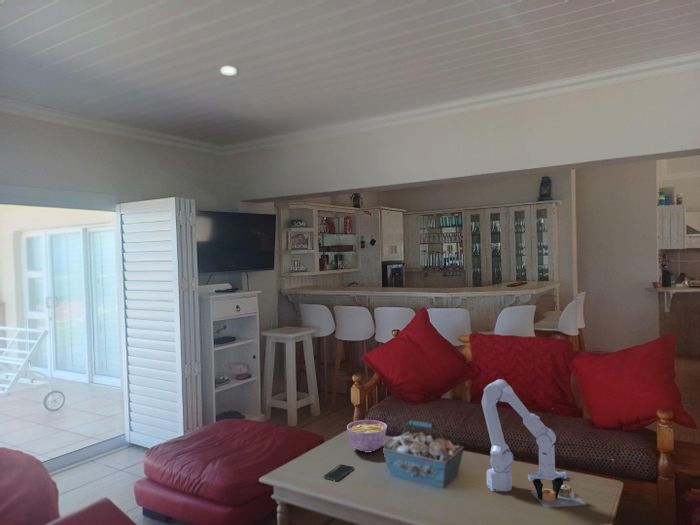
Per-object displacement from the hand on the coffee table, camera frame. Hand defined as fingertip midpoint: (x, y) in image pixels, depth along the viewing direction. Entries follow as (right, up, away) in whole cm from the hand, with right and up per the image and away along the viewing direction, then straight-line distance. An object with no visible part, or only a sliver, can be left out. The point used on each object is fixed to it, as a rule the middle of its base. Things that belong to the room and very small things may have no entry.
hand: (547, 497), depth 198 cm
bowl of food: (-67, -3, +59) cm, 89 cm away
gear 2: (+8, 0, +4) cm, 9 cm away
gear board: (+4, -2, 0) cm, 4 cm away
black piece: (+12, -2, +18) cm, 22 cm away
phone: (-80, -4, +31) cm, 86 cm away
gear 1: (0, 0, 0) cm, 0 cm away
